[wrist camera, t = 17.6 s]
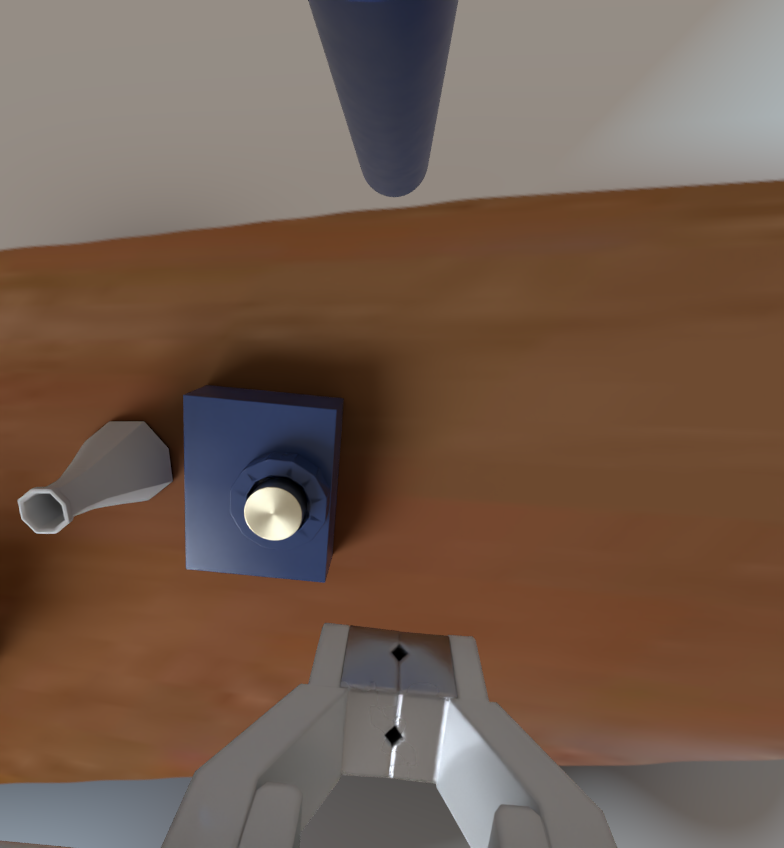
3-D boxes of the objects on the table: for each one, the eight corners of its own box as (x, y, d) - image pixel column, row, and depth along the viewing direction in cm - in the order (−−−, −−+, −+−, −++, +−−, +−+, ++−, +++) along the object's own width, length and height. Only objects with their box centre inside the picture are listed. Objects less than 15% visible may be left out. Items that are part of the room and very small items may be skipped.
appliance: (206, 384, 38) (171, 399, 32) (343, 398, 38) (333, 415, 32) (207, 543, 41) (174, 582, 36) (332, 555, 41) (321, 596, 36)
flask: (188, 486, 40) (120, 545, 30) (112, 511, 41) (21, 576, 31) (150, 406, 38) (65, 442, 29) (72, 434, 39) (-37, 477, 29)
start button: (252, 475, 34) (244, 484, 32) (308, 480, 34) (303, 489, 32) (251, 526, 35) (243, 537, 33) (305, 531, 35) (300, 543, 33)
